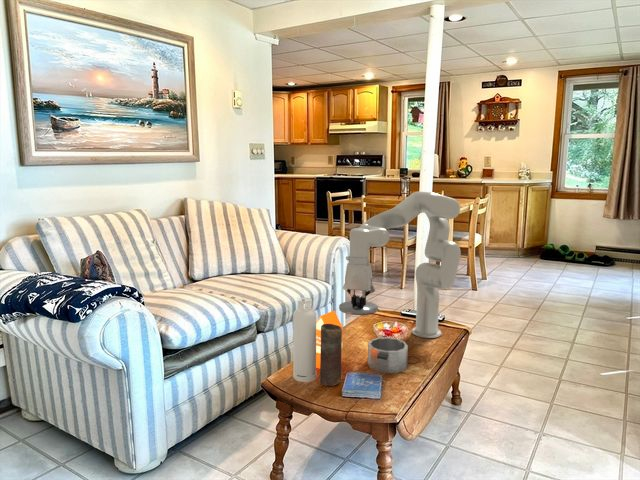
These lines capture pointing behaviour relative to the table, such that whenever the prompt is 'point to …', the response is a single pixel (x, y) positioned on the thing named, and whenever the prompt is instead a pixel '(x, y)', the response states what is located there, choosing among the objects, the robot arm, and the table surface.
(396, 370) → the pot
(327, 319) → the orange juice
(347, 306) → the lid
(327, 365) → the candle
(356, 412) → the table surface
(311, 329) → the bottle
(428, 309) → the robot arm
